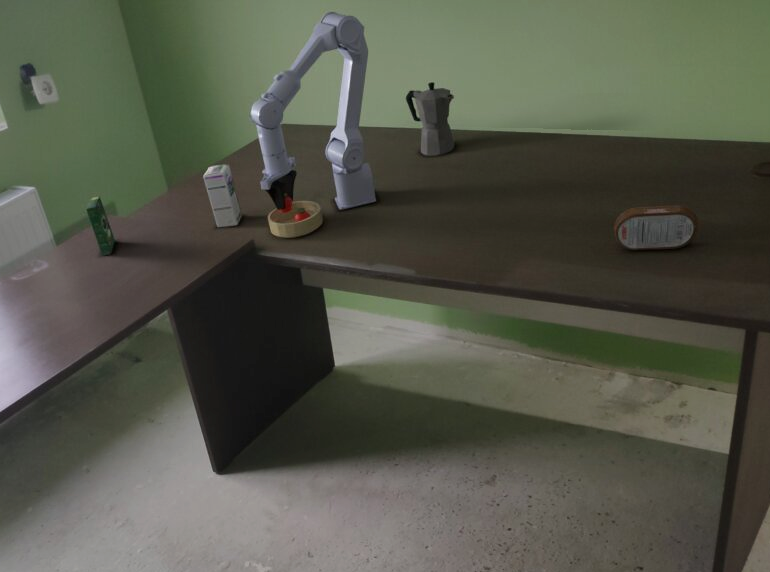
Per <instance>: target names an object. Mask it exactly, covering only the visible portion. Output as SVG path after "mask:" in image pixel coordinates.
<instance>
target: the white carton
mask: <svg viewBox="0 0 770 572" xmlns="http://www.w3.org/2000/svg"><path fill="white" fill-rule="evenodd" d="M202 177H203V181H204V185H205V189H206V192H207V195H208V199H209V202H210V206H211V209H212V213H213V217H214V220H215V224H216V227H217V228H226V227H227V228H228V227H234V226H238V224H239V223H240V220H241V219H242V217H243V214H242V210H241V205H240V202H239V199H238V194H237V191H236V187H235V183H234V179H233V175H232V171H231V168H230V164H228V163H226V164H225V163H223V164H216V165H211V166H209V167H207V170H206V171H205V173H204V174H203V176H202Z"/></svg>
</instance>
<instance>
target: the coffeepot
mask: <svg viewBox="0 0 770 572" xmlns="http://www.w3.org/2000/svg"><path fill="white" fill-rule="evenodd" d="M427 85H428V89H426V90H423V91H422V90H414V89H413V90H412V89H411V90H408V92H407V94H406V95H405V101H406V104H407V106H408V109H409V111H410V114H411V117H412V118H413V121H414V122H421V123H422V128H421V135H420V137H421V138H420V139H421V140H420V153H421V154H422V155H424V156H427V157H434V156H435V157H436V156H442V155H445V154H448V153H450V152H451V151H453V150H454V148H455V141H454V137H453V134H452V130H451V126H450V124H449V120H448V118H449V116H450V104H451V102H452V100H454V98H455V95H454V94H452V93H451V90H450V89H447V88H445V87H440V88H439V87H438V88H435V82H434V81H433V82H429V83H428V84H427ZM413 98H414V100H413ZM414 101H415V105H416V108H415V105H414ZM417 113H418V115H417Z"/></svg>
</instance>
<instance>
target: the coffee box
mask: <svg viewBox="0 0 770 572" xmlns="http://www.w3.org/2000/svg"><path fill="white" fill-rule="evenodd" d="M85 212H86V214H87V217H88V220H89V222H90V226H91V229H92V232H93V235H94V238H95V239H96V242H97V246H98V249H99V252H100V254H101V256H106V255H110V254H112V251H113V248H114V245H115V243H116V240H115V235H114V233H113V231H112V228H111V225H110V222H109V220H108V216H107V213H106V211H105V206H104V205H103V202H102V199H101V196H100V195H98V196H94V197H90V199H89V201H88V203H87V205H86V207H85Z"/></svg>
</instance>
